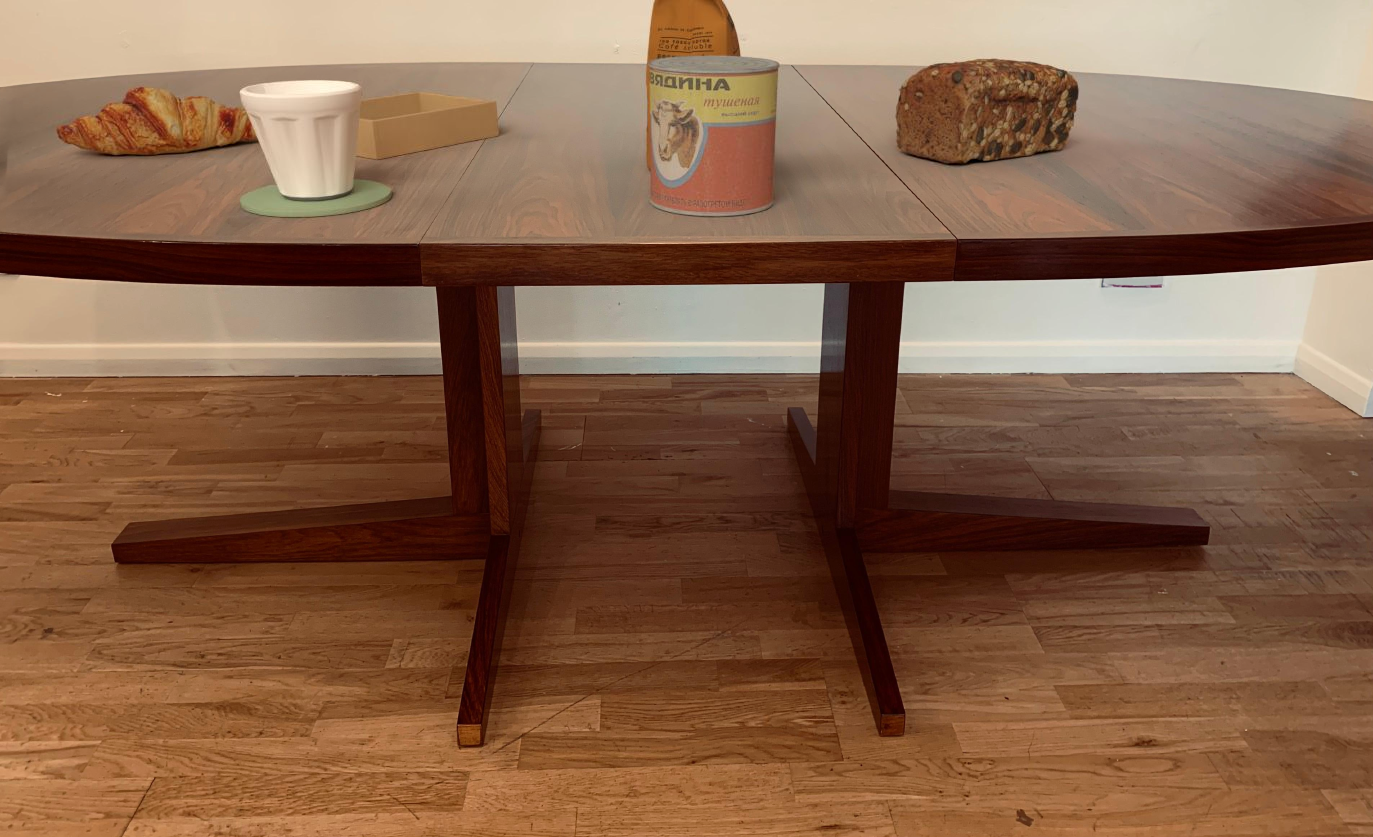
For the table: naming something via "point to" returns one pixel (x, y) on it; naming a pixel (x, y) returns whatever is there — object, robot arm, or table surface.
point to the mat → (276, 205)
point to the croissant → (158, 125)
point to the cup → (307, 134)
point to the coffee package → (688, 35)
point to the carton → (422, 123)
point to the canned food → (712, 134)
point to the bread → (985, 110)
